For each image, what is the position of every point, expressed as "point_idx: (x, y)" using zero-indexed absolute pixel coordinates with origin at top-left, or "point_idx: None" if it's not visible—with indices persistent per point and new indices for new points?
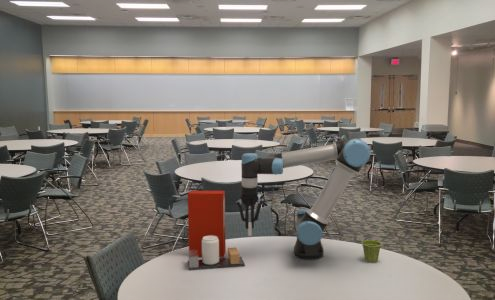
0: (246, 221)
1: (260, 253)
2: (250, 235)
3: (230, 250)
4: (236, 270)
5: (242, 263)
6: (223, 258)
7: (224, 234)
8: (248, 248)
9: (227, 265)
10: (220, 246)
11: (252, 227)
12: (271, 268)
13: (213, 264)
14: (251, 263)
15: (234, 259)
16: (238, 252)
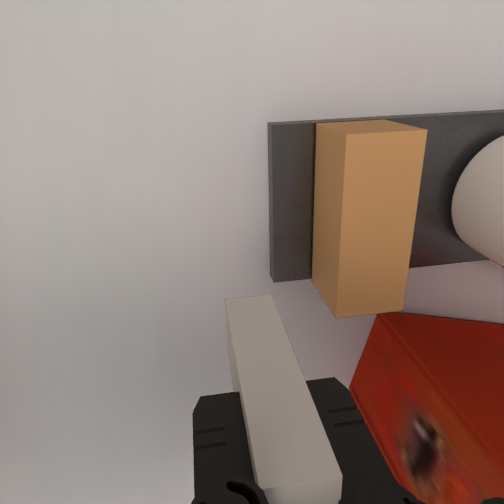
0: (410, 499)
1: (124, 368)
2: (243, 301)
3: (400, 246)
4: (345, 38)
5: (288, 137)
6: None
7: (433, 474)
8: None
9: (406, 117)
10: (438, 358)
11: (219, 409)
12: (36, 33)
13: None
14: (207, 181)
15: (371, 126)
16: (344, 183)
